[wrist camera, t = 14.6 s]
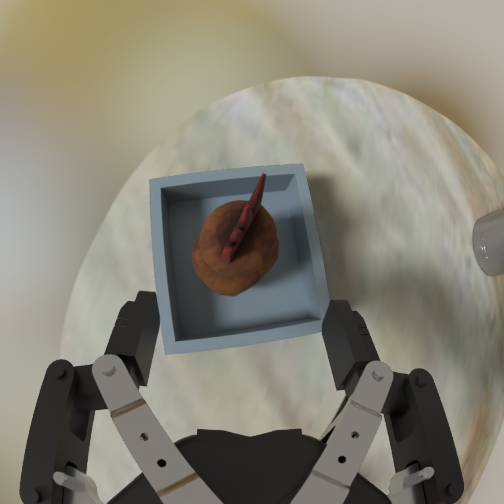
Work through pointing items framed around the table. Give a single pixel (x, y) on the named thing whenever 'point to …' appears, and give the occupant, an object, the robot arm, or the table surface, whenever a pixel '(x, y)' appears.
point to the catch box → (260, 294)
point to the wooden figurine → (236, 245)
